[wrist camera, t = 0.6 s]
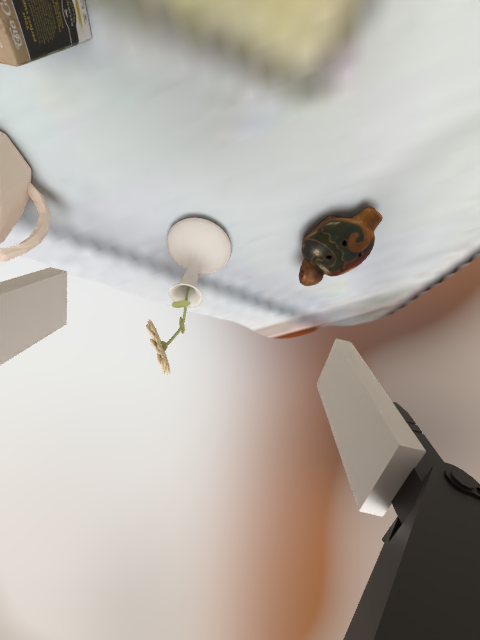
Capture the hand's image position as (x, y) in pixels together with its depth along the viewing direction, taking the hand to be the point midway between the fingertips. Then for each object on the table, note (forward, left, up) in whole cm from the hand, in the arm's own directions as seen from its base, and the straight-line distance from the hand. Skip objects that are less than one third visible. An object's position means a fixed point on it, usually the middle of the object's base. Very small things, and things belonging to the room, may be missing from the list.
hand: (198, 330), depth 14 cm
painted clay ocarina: (+21, +9, -35) cm, 42 cm away
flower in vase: (+17, -14, -35) cm, 41 cm away
